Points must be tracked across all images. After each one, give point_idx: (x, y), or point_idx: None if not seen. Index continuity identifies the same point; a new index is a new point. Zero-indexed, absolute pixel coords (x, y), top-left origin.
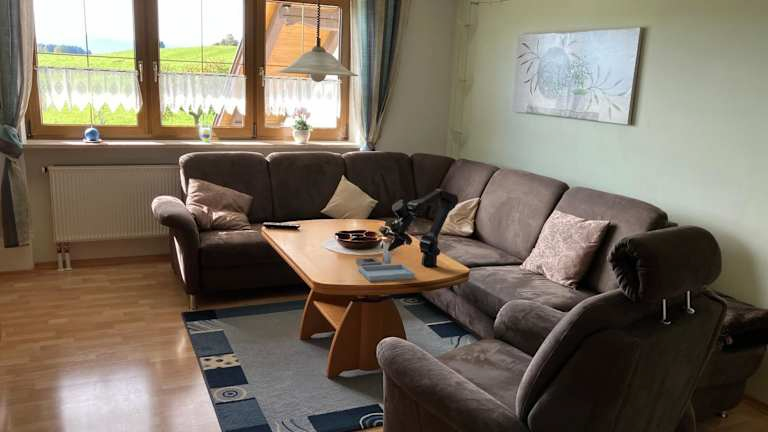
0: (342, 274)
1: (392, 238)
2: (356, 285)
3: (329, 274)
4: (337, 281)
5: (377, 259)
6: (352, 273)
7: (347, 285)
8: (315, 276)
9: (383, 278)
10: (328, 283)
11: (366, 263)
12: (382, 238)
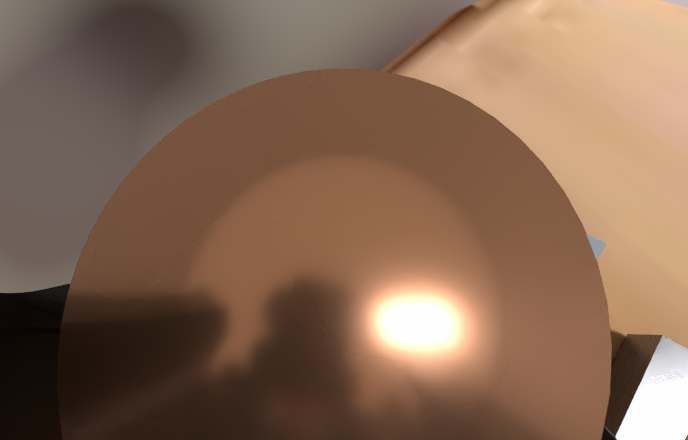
0: (601, 143)
1: (82, 273)
2: (389, 69)
3: (653, 92)
4: (505, 47)
5: None
6: (577, 201)
7: (421, 43)
8: (665, 21)
9: None
10: (510, 4)
11: (651, 377)
12: (409, 89)
